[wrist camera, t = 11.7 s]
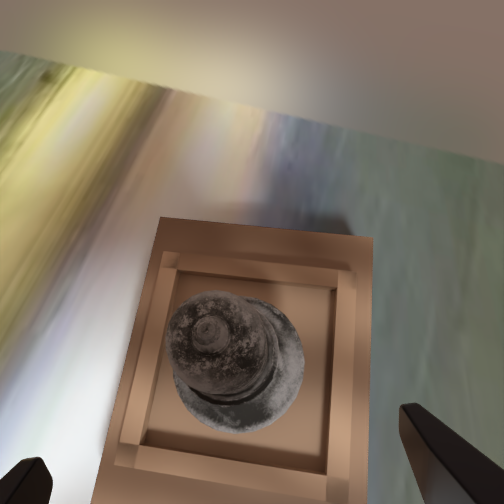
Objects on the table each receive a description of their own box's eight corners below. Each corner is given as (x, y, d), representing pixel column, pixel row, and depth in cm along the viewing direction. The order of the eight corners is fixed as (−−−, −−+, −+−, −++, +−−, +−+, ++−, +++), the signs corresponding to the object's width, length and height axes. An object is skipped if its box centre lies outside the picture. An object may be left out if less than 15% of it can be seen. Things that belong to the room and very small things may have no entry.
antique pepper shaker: (246, 290, 21) (215, 174, 10) (323, 368, 20) (386, 331, 8) (167, 364, 20) (31, 325, 9) (241, 454, 18) (187, 546, 7)
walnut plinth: (352, 544, 19) (369, 578, 16) (112, 500, 21) (78, 522, 17) (362, 255, 25) (376, 232, 21) (172, 235, 26) (156, 211, 23)
